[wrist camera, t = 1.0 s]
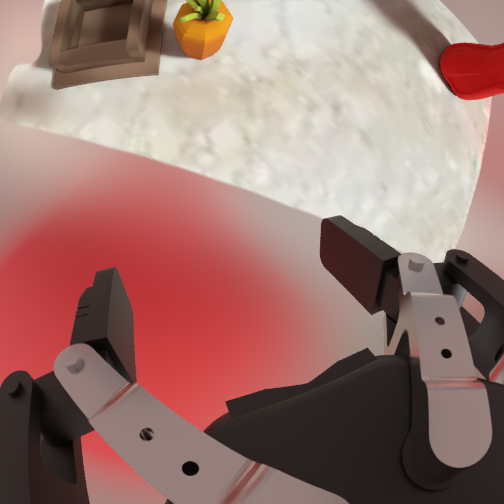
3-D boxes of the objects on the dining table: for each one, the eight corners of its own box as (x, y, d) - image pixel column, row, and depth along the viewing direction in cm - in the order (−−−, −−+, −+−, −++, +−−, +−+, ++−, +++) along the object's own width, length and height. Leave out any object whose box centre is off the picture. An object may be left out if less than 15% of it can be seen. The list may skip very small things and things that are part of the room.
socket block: (72, 3, 20) (56, -15, 14) (169, -13, 22) (166, -37, 17) (57, 89, 24) (34, 81, 19) (158, 75, 27) (152, 60, 21)
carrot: (222, 71, 28) (246, 19, 14) (178, 76, 27) (170, 25, 14) (219, 35, 26) (240, -31, 13) (176, 39, 26) (169, -27, 12)
